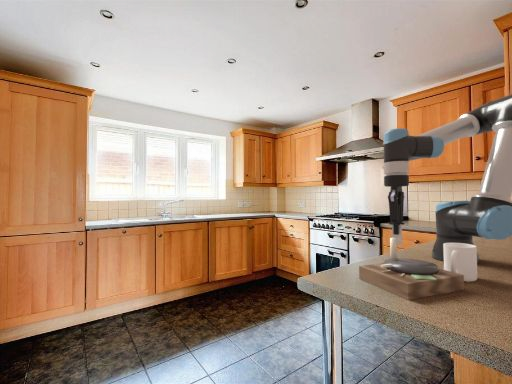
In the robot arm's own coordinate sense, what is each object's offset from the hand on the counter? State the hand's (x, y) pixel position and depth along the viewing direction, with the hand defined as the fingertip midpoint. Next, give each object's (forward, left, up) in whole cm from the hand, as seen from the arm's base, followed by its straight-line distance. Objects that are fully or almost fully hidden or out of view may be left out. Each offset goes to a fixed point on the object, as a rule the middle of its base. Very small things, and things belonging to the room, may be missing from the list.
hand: (397, 243), depth 90 cm
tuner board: (+7, +10, -10) cm, 16 cm away
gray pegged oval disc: (+7, +9, -5) cm, 13 cm away
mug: (-11, +12, -10) cm, 19 cm away
